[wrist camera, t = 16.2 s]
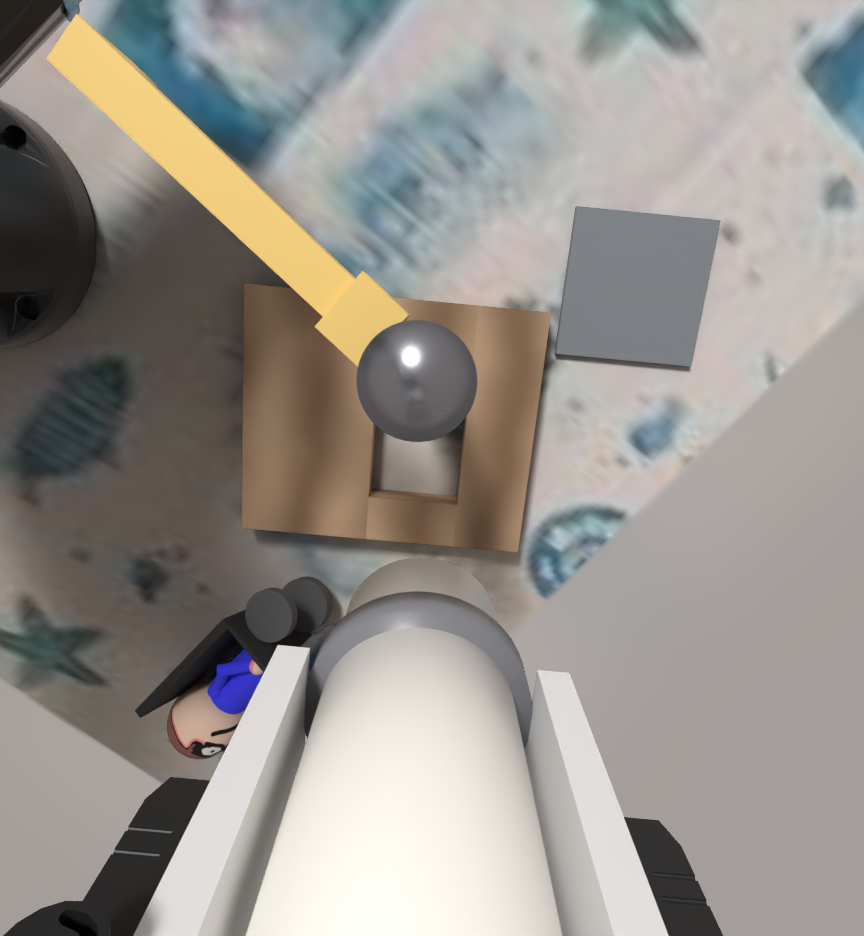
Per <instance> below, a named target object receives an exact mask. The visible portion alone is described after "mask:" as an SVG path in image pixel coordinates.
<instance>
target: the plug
mask: <svg viewBox="0 0 864 936" xmlns="http://www.w3.org/2000/svg"><path fill="white" fill-rule="evenodd" d="M531 719H532V700H531V696H530V691H529V687H528V683H527V679H526V675H525V671H524V667H523V663H522V660H521V658H520V655H519V652H518V650H517V648H516V647H515V645H514V643H513V641H512V639H511V638H510V637H509V635H508V634H507V633H506V631H505V630H504V629H503V628H502V627H501V626H500V625H499V624H498V621H497V616H496V611H495V608H494V605H493V602H492V600H491V598H490V596H489V594H488V593H487V591H486V590H485V588H484V587H483V586H482V584H481V583H480V582H479V581H478V580H477V579H476V578H475V577H473V576H472V575H471V574H470V573H468V572H467V571H465V570H464V569H462V568H460V567H459V566H456V565H454V564H452V563H449V562H446V561H443V560H439V559H433V558H408V559H403V560H399V561H396V562H393V563H390V564H388V565H386V566H384V567H382V568H380V569H378V570H377V571H375V572H374V573H372V574H371V575H370V576H369V577H368V578H367V579H365V580H364V582H363V583H362V584H361V585H360V586H359V587H358V589H357V591H356V592H355V594H354V595H353V597H352V600H351V602H350V604H349V607H348V611H347V614H346V616H345V617H344V618H343V619H341V620H340V621H339V622H338V623H337V624H336V625H335V626H334V628H333V629H332V630H331V631H330V632H329V634H328V635H327V637H326V638H325V640H324V641H323V643H322V645H321V647H320V649H319V651H318V653H317V656H316V658H315V661H314V664H313V667H312V669H311V672H310V675H309V678H308V680H307V684H306V700H305V717H304V729H305V733H306V736H307V742H306V745H305V748H304V751H303V754H302V758H301V761H300V764H299V767H298V770H297V774H296V777H295V780H294V783H293V786H292V790H291V793H290V796H289V799H288V802H287V806H286V809H285V812H284V815H283V818H282V822H281V825H280V828H279V831H278V834H277V838H276V841H275V844H274V847H273V850H272V854H271V857H270V860H269V863H268V866H267V870H266V873H265V876H264V879H263V882H262V886H261V889H260V892H259V895H258V899H257V902H256V905H255V908H254V911H253V914H252V918H251V921H250V924H249V927H248V930H247V934H246V936H562V931H561V926H560V921H559V917H558V912H557V907H556V902H555V897H554V892H553V887H552V883H551V878H550V873H549V868H548V863H547V858H546V853H545V849H544V844H543V839H542V834H541V829H540V824H539V819H538V815H537V810H536V805H535V800H534V795H533V790H532V786H531V781H530V776H529V771H528V766H527V761H526V756H525V752H524V748H525V746H526V743H527V741H528V737H529V731H530V725H531Z"/></svg>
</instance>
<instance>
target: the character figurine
mask: <svg viewBox="0 0 864 936" xmlns="http://www.w3.org/2000/svg"><path fill="white" fill-rule="evenodd" d="M331 609H332V599H331V595H330V593H329V591H328V589H327V587H326V586H325V585H324V584H323V583H322V582H321V581H319V580H318V579H315V578H313V577H301V578H298V579H295V580H293V581H291V582H289V583H288V584H287V585H286V586H285V587H284V588H283V590H281V589H278V588H268V589H265V590H262V591H260V592H258V593H256V594H255V595H253V596H252V597H251V599H250V600H249V602H248V604H247V606H246V610H244V611H242V612H239V613H237V614H235V615H232V616H230V617H227V618H225V619H223V620H222V621H221V622H220V623H219V624H218V625H217V626H216V627H215V628H214V629H213V630H212V631H211V632H210V633H209V634H208V636H207V637H206V638H205V639H204V640H203V641H202V642H201V643H200V644H199V645H198V646H197V647H196V648H195V649H194V650H193V651H192V652H191V653H190V654H189V655H188V656H187V657H186V658H185V659H184V660H183V661H182V662H181V663H180V665H179V666H178V667H177V668H176V669H175V670H174V671H173V672H172V673H171V674H170V675H169V676H168V677H167V678H166V679H165V680H164V681H163V682H162V683H161V684H160V685H159V686H158V687H157V688H156V689H155V690H154V691H153V692H152V693H151V695H150V696H149V697H148V698H147V699H146V700H145V701H144V702H143V703H142V704H141V705H140V706H139V707H138V708H137V709H136V710H135V712H136V713H137V714H138V716H139V717H140V718H141V717H143V716H145V715H146V714H148V713H150V712H152V711H153V710H155V709H157V708H159V707H160V706H162V705H164V704H166V703H168V702H169V701H171V700H173V699H175V698H176V697H178V696H179V697H178V699H177V700H176V701H175V703H174V704H173V706H172V708H171V710H170V713H169V716H168V721H167V732H168V736H169V739H170V742H171V743H172V745H173V747H174V748H175V749H176V750H177V751H178V752H179V753H181V754H182V755H184V756H186V757H189V758H193V759H206V758H211V757H214V756H216V755H218V754H220V753H222V752H223V751H225V750H226V748H227V746H228V744H229V742H230V740H231V738H232V736H233V734H234V732H235V730H236V728H237V726H238V724H239V722H240V720H241V718H242V716H243V714H244V710H245V709H246V708H247V706H248V704H249V702H250V700H251V698H252V696H253V694H254V692H255V690H256V688H257V686H258V684H259V682H260V680H261V678H262V676H263V674H264V672H265V670H266V668H267V666H268V664H269V662H270V660H271V658H272V656H273V654H274V652H275V650H276V648H277V646H278V645H284V646H294V647H305V648H310V656H311V655H312V654H313V653H314V652H315V651H316V650H317V649H318V648H319V647H320V646H321V645H322V643H323V641H324V640H325V638H326V637H327V635H328V634H329V632H330V631H331V630H332V629H333V628H334V626H335V624H331V625H326V626H324V628H323V629H322V630H321V631H320V632H319V633H318V634H314V635H312V634H311V633H310V631H313V630H315V629H316V628H318V627H320V626H321V625H323V624H324V623H325V622H326V621H327V619H328V618H329V616H330V613H331ZM240 646H242V647H243V648H244V649H243V650H242V651H241V652H240V653H239V654H238V655H237V656H236V657H235V658H234V659H233V660H232V661H231V662H229V663H224V662H225V661H226V660H227V659H228V658H229V657H230V656H231V655H232V654H233V653H234V652H235V651H236V650H237V649H238V648H239V647H240ZM223 663H224V664H223ZM216 670H217V676H216V677H215V678H214V679H213V680H212V681H211V682H205V681H206V680H207V679H208V678H209V677H210V676H211V675H212V674H213V673H214V672H215V671H216Z"/></svg>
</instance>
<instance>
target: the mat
mask: <svg viewBox="0 0 864 936" xmlns="http://www.w3.org/2000/svg"><path fill="white" fill-rule="evenodd" d="M719 225H720V220H710V219H700V218H690V217H680V216H670V215H660V214H650V213H640V212H630V211H620V210H610V209H599V208H589V207H579V206H577V207H576V208H575V215H574V222H573V229H572V236H571V243H570V250H569V257H568V264H567V271H566V278H565V285H564V292H563V299H562V306H561V313H560V320H559V327H558V334H557V341H556V348H555V354H564V355H574V356H585V357H596V358H606V359H617V360H627V361H638V362H649V363H659V364H670V365H680V366H691V364H692V359H693V354H694V349H695V344H696V339H697V334H698V329H699V324H700V319H701V314H702V309H703V305H704V300H705V295H706V290H707V285H708V280H709V275H710V270H711V265H712V260H713V255H714V250H715V245H716V240H717V235H718V230H719Z"/></svg>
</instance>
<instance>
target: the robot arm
mask: <svg viewBox="0 0 864 936" xmlns="http://www.w3.org/2000/svg"><path fill="white" fill-rule="evenodd" d="M81 1H82V0H0V88H1V87H2V86H3V85H4V84H5V82H6V81H7V80H8V79H9V78H10V77H11V76H12V75H13V74H14V73H15V72H16V71H17V70H18V69H19V68H20V67H21V66H22V65H23V64H24V63H25V62H26V61H27V60H28V59H29V58H30V57H31V56H32V55H33V54H34V53H35V51H36V50H37V49H38V48H39V47H40V46H41V45H42V44H43V43H44V42H45V41H46V40H47V39H48V38H49V37H50V36H51V35H52V34H53V33H54V32H55V31H56V30H57V29H58V28H59V27H60V26H61V25H62V24H63V23H64V22H65V20H66V19H67V20H69V21H70V22H71V21H72V20H73V18H74V17H75V15H76V14H78V15H79V12H80V8H79V3H80V2H81ZM95 252H96V235H95V225H94V219H93V214H92V210H91V206H90V203H89V199H88V196H87V194H86V191H85V188H84V186H83V184H82V181H81V179H80V177H79V175H78V173H77V172H76V170H75V168H74V166H73V165H72V163H71V161H70V160H69V158H68V157H67V156H66V154H65V153H64V151H63V150H62V149H61V148H60V146H59V145H58V144H57V143H56V142H55V140H54V139H53V138H52V137H51V136H50V135H49V134H48V133H47V132H46V131H45V130H44V129H43V128H42V127H41V126H39V125H38V124H37V123H36V122H35V121H33V120H32V119H31V118H29V117H28V116H27V115H25V114H24V113H22V112H21V111H19V110H18V109H16V108H14V107H12V106H11V105H9V104H7V103H5V102H3V101H1V100H0V348H5V347H14V346H19V345H24V344H27V343H30V342H33V341H36V340H38V339H40V338H42V337H44V336H46V335H48V334H50V333H51V332H53V331H54V330H56V329H57V328H58V327H59V326H61V325H62V324H63V323H64V322H65V321H66V320H67V319H68V318H69V317H70V316H71V315H72V313H73V312H74V311H75V310H76V308H77V307H78V305H79V304H80V302H81V300H82V299H83V297H84V295H85V292H86V290H87V288H88V285H89V283H90V279H91V276H92V272H93V268H94V262H95ZM309 659H310V648H305V647H294V646H284V645H278V646H277V648H276V650H275V652H274V654H273V656H272V658H271V660H270V662H269V664H268V666H267V668H266V670H265V672H264V674H263V676H262V678H261V680H260V682H259V684H258V686H257V688H256V690H255V692H254V694H253V696H252V698H251V700H250V702H249V704H248V706H247V708H246V710H245V712H244V714H243V716H242V718H241V720H240V722H239V724H238V726H237V728H236V730H235V732H234V734H233V736H232V738H231V740H230V742H229V744H228V746H227V748H226V750H225V752H224V754H223V756H222V758H221V760H220V762H219V764H218V766H217V768H216V770H215V772H214V774H213V776H212V778H211V780H210V781H207V780H196V779H185V778H174V777H170V778H169V779H168V780H167V781H166V782H165V783H163V784H162V785H161V786H160V787H159V788H158V789H156V790H155V791H154V792H153V793H152V794H151V795H149V796H148V797H147V798H146V799H145V800H144V802H143V804H142V805H141V807H140V808H139V810H138V812H137V813H136V815H135V817H134V818H133V820H132V822H131V823H130V825H129V828H128V831H125V833H124V835H123V836H122V838H121V839H120V841H119V843H118V844H117V846H116V847H115V851H114V853H113V855H111V856H110V857H109V859H108V860H107V862H106V864H105V865H104V867H103V869H102V870H101V872H100V873H99V875H98V877H97V878H96V880H95V882H94V883H93V885H92V887H91V888H90V890H89V891H88V893H87V895H86V896H85V898H84V900H83V901H64V902H61V903H57V904H54V905H51V906H48V907H45V908H41V909H40V910H38V911H36V912H34V913H33V914H31V915H29V916H28V917H26V918H24V919H23V920H21V921H20V922H18V923H16V924H15V925H14V926H13V927H12V928H11V929H10V930H9V931H8V932H7V933H6V934H5V935H4V936H245V935H246V931H247V928H248V925H249V922H250V919H251V915H252V912H253V909H254V906H255V903H256V899H257V896H258V893H259V890H260V887H261V884H262V880H263V877H264V874H265V871H266V868H267V864H268V861H269V858H270V855H271V852H272V848H273V845H274V842H275V839H276V836H277V833H278V829H279V826H280V823H281V820H282V817H283V813H284V810H285V807H286V804H287V801H288V798H289V794H290V791H291V788H292V785H293V782H294V778H295V775H296V772H297V769H298V766H299V762H300V759H301V756H302V753H303V750H304V746H305V729H304V717H305V700H306V684H307V680H308V677H309ZM524 752H525V756H526V761H527V766H528V771H529V776H530V781H531V786H532V790H533V795H534V800H535V805H536V810H537V815H538V819H539V824H540V829H541V834H542V839H543V844H544V849H545V853H546V858H547V863H548V868H549V873H550V878H551V883H552V887H553V892H554V897H555V902H556V907H557V912H558V917H559V921H560V926H561V931H562V936H723V935H722V932H721V930H720V928H719V926H718V924H717V922H716V920H715V918H714V915H713V913H712V911H711V909H710V907H709V906H707V904H706V898H705V896H704V894H703V892H702V890H701V888H700V885H699V883H698V881H695V875H694V873H693V870H692V868H691V866H690V864H689V862H688V860H687V858H686V856H685V853H684V851H683V849H682V847H681V846H680V844H679V843H678V842H677V841H676V840H675V839H674V837H673V836H672V835H671V834H670V833H669V832H668V831H667V829H666V828H665V827H664V826H663V825H662V824H661V823H660V821H658V820H648V819H637V818H627V817H623V814H622V811H621V809H620V806H619V803H618V801H617V798H616V796H615V793H614V790H613V788H612V785H611V782H610V780H609V777H608V774H607V772H606V769H605V766H604V764H603V761H602V758H601V756H600V753H599V751H598V748H597V745H596V743H595V740H594V737H593V735H592V732H591V729H590V727H589V724H588V722H587V719H586V716H585V714H584V711H583V708H582V706H581V703H580V701H579V698H578V695H577V692H576V690H575V687H574V685H573V682H572V679H571V677H570V674H569V673H563V672H553V671H542V670H537V675H536V681H535V687H534V693H533V699H532V719H531V725H530V731H529V737H528V741H527V743H526V746H525V748H524Z"/></svg>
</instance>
